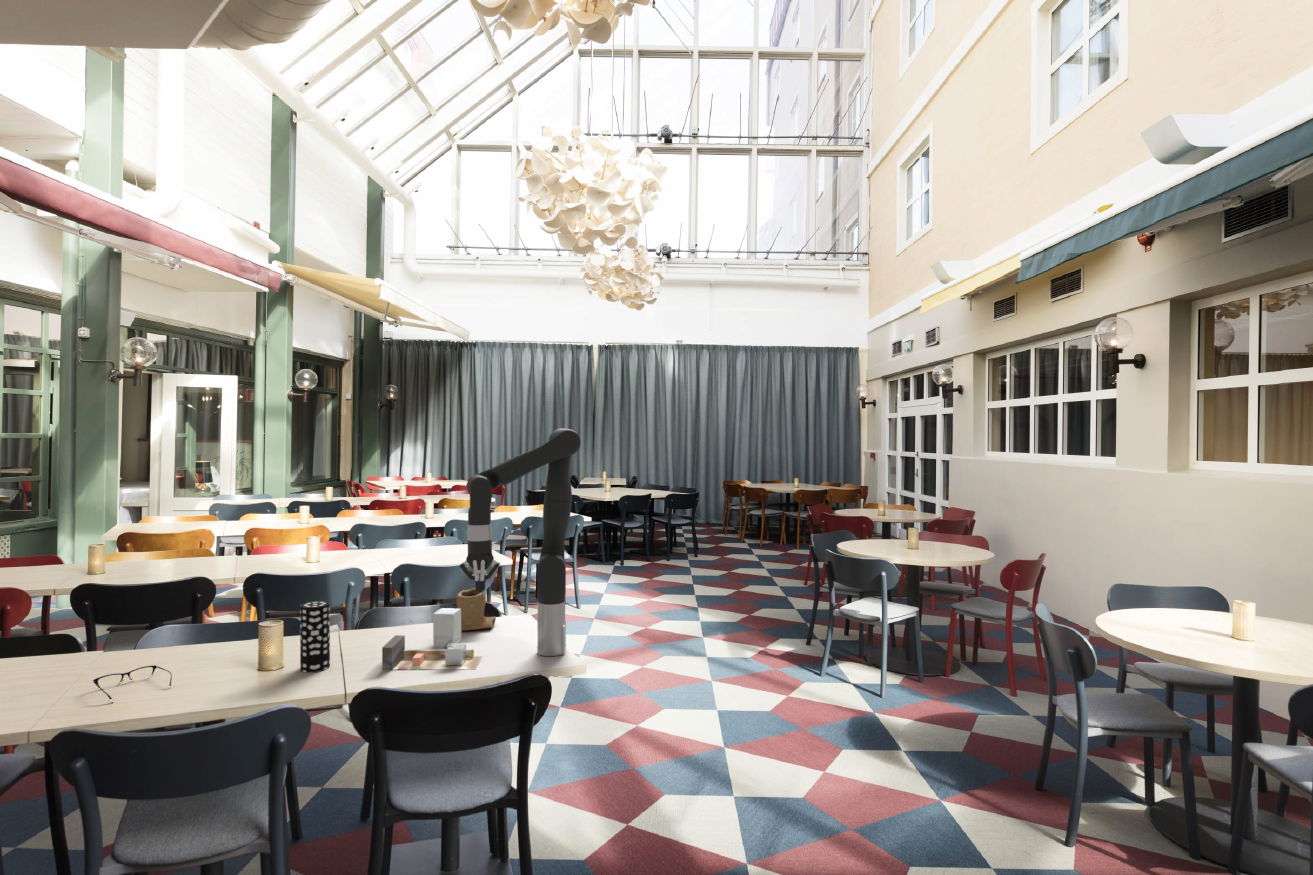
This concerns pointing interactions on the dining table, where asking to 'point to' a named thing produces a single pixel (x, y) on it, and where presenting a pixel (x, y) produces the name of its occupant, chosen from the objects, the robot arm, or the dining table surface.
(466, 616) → the tan piece
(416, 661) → the pink eraser
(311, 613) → the white-spotted black cylinder
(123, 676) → the eyeglasses
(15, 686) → the dining table surface
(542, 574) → the robot arm
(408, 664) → the beige long open tray
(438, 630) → the supplement box
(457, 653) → the carriage
